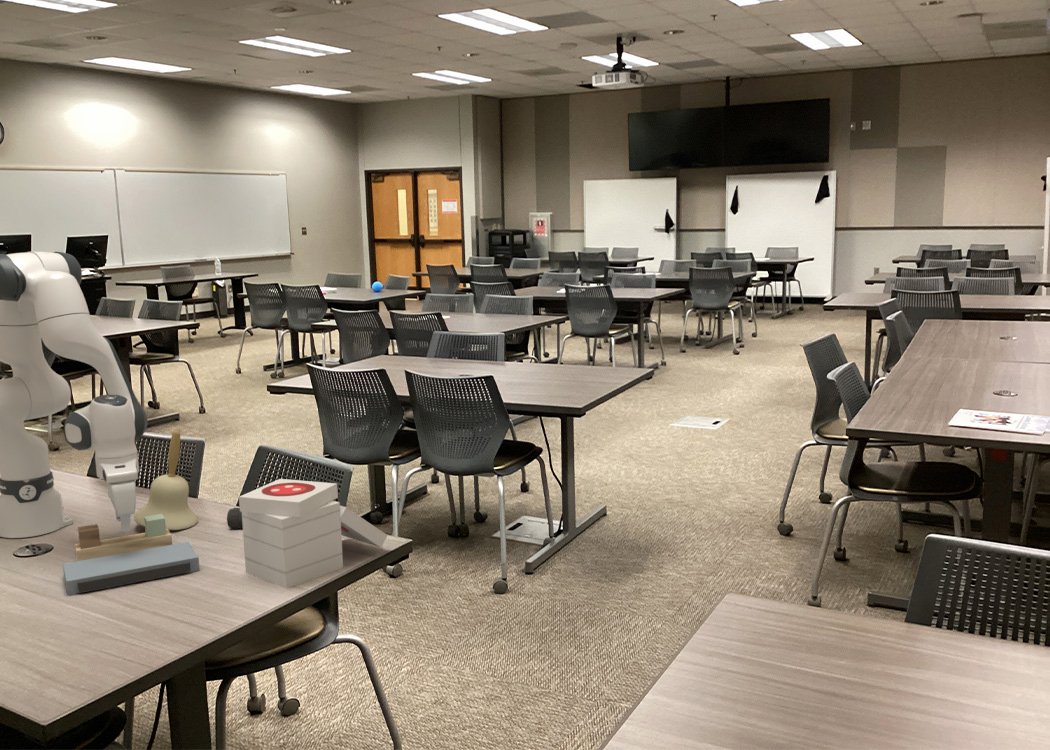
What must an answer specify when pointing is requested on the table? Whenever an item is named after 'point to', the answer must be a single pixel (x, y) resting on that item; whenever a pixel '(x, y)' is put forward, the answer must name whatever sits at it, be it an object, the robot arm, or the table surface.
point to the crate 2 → (155, 525)
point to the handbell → (169, 495)
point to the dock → (129, 567)
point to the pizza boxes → (298, 531)
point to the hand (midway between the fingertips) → (123, 525)
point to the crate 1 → (89, 536)
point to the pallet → (122, 545)
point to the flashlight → (234, 518)
